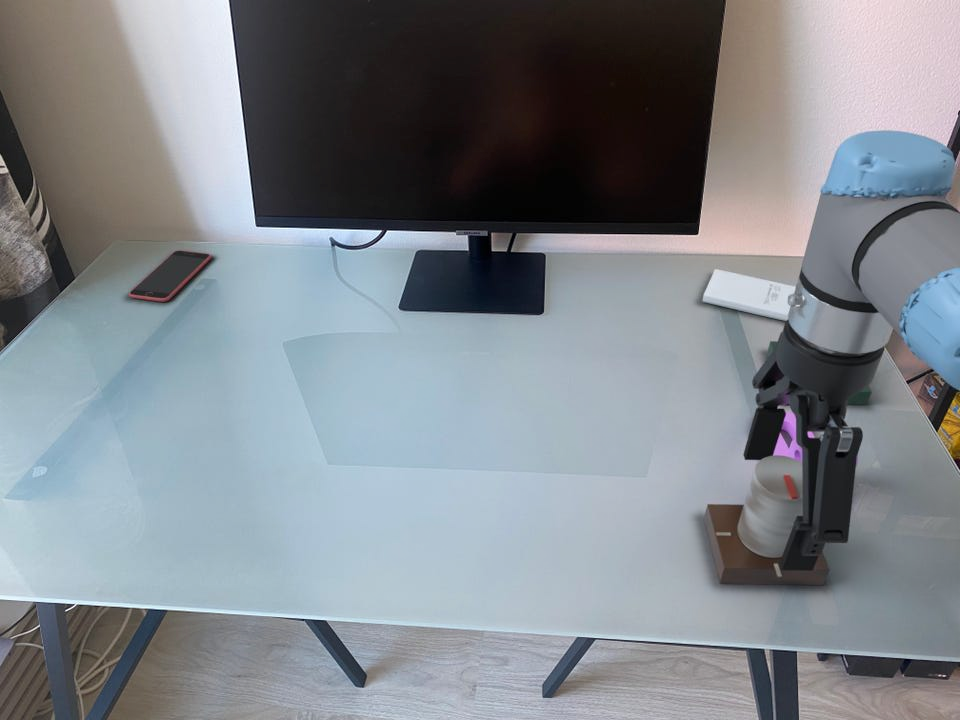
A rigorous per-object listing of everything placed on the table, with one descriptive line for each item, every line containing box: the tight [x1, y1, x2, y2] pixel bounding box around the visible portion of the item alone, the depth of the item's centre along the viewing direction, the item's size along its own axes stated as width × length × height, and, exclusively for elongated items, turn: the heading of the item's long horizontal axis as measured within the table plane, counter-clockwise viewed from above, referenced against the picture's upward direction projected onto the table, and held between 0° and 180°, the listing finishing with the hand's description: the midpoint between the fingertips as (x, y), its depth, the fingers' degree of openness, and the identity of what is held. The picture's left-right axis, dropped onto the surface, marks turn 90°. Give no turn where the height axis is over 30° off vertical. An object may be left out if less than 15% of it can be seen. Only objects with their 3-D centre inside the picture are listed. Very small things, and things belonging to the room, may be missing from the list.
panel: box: [703, 503, 830, 586], centre depth 76 cm, size 10×10×3 cm
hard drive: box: [702, 268, 796, 322], centre depth 112 cm, size 2×8×12 cm
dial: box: [737, 455, 803, 558], centre depth 73 cm, size 6×6×9 cm
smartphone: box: [128, 250, 212, 303], centre depth 121 cm, size 7×1×14 cm
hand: (775, 508), depth 73 cm, fingers open, 13 cm apart
